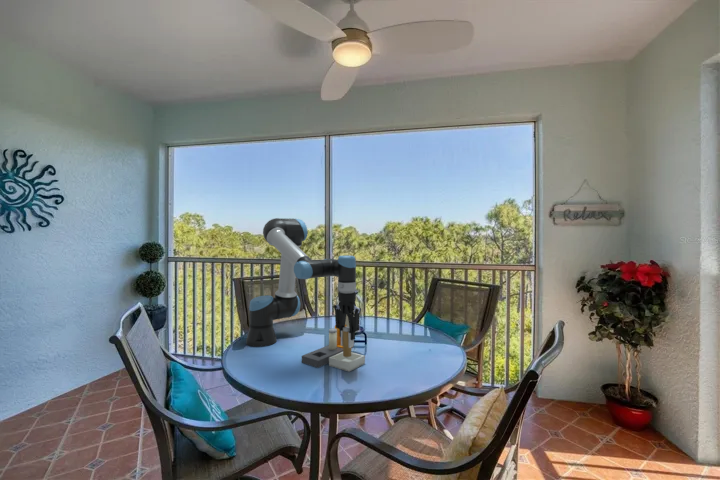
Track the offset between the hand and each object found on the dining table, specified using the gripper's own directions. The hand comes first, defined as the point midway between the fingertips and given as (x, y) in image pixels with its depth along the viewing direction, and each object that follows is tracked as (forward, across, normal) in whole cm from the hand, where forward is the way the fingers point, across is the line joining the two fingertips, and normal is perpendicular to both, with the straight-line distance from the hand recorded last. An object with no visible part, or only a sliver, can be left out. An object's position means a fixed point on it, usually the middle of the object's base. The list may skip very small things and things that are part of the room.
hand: (347, 345), depth 149 cm
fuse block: (+8, -13, -1) cm, 15 cm away
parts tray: (+8, 0, 0) cm, 8 cm away
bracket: (+8, -15, +15) cm, 23 cm away
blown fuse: (+4, 0, 0) cm, 4 cm away
